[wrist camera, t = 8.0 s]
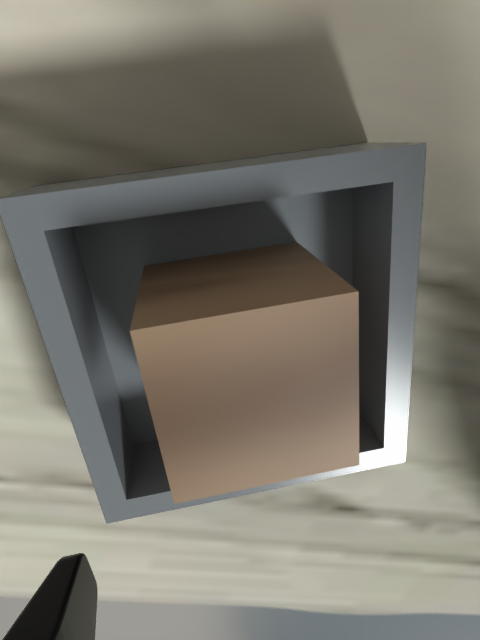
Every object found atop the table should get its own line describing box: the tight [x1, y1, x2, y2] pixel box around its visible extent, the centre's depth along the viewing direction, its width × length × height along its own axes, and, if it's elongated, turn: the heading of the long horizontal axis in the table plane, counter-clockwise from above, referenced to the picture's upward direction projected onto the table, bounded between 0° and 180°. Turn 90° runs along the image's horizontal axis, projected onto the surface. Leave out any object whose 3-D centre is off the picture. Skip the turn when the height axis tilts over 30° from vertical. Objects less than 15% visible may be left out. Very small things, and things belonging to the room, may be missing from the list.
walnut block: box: [130, 242, 359, 504], centre depth 15 cm, size 6×6×6 cm
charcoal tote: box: [0, 143, 426, 523], centre depth 16 cm, size 12×12×4 cm
